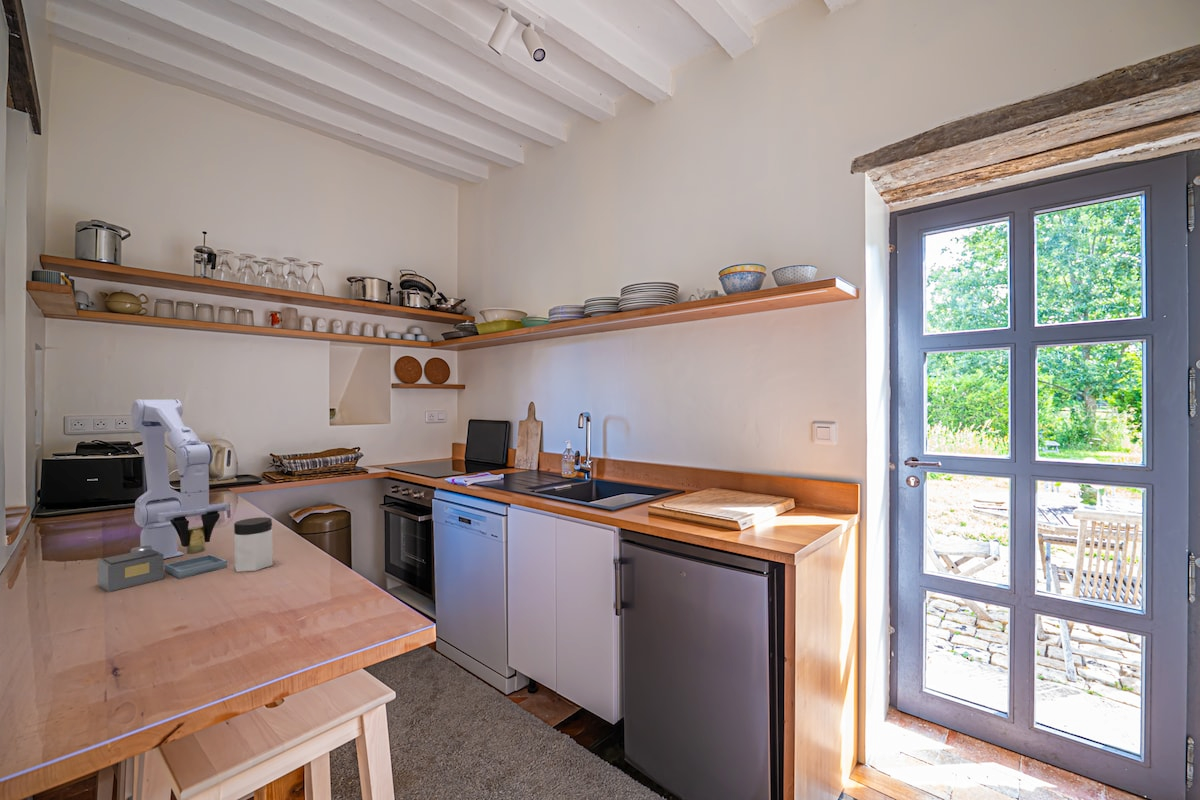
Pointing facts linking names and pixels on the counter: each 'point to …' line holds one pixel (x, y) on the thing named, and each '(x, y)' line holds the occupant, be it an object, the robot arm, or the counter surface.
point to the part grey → (140, 548)
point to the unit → (130, 569)
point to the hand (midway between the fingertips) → (195, 543)
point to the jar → (253, 544)
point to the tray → (195, 566)
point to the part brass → (196, 540)
